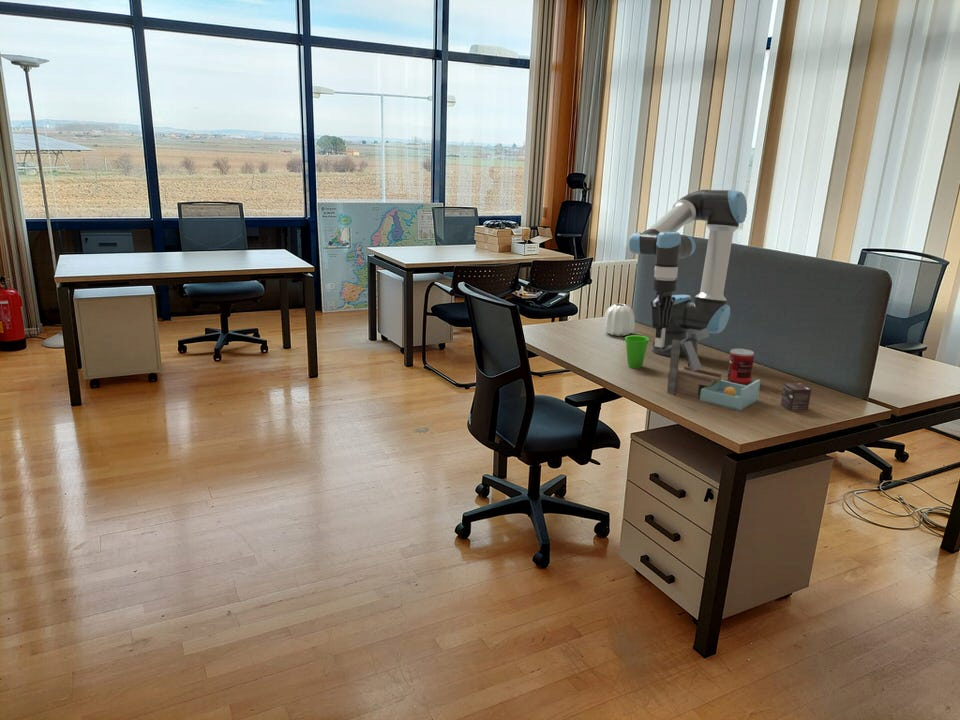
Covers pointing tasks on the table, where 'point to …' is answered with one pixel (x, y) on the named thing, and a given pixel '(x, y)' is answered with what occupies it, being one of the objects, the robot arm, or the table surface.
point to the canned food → (740, 366)
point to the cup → (636, 350)
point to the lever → (690, 348)
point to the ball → (730, 391)
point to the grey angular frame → (688, 374)
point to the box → (796, 397)
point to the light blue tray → (738, 402)
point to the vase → (619, 320)
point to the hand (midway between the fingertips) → (659, 346)
